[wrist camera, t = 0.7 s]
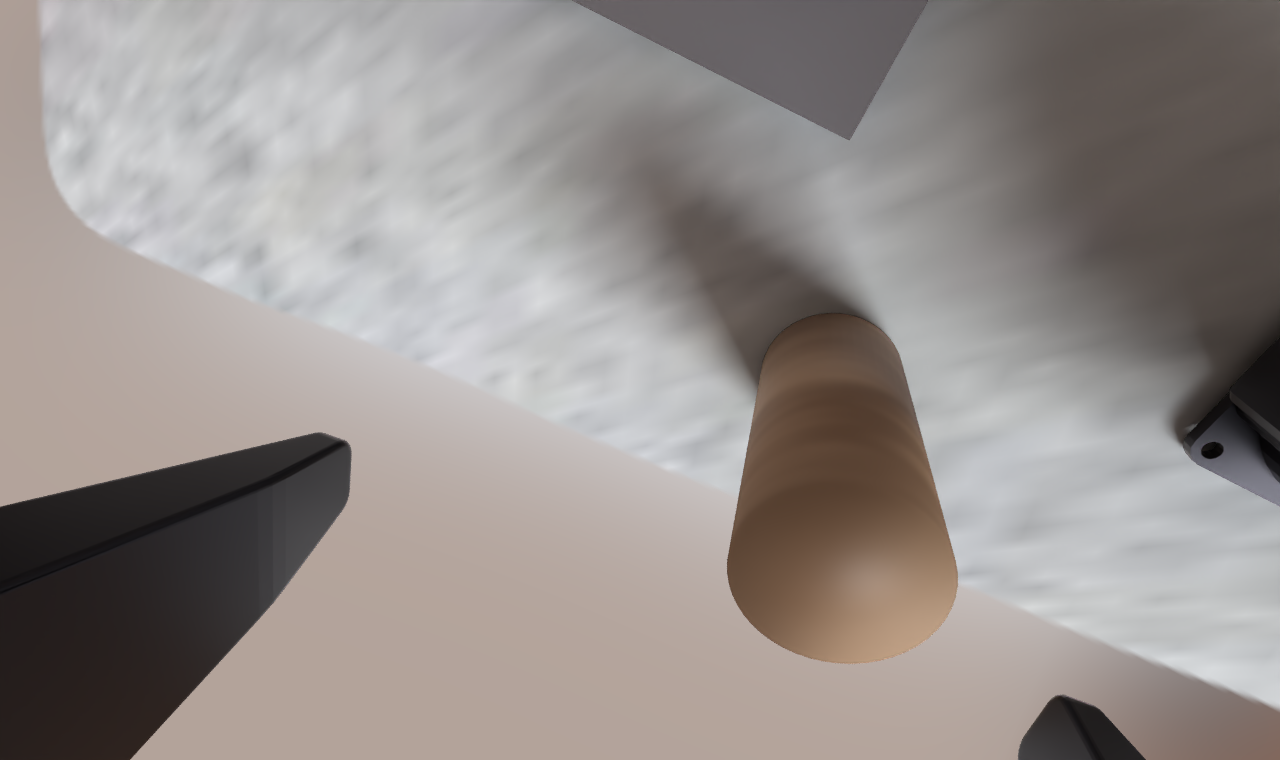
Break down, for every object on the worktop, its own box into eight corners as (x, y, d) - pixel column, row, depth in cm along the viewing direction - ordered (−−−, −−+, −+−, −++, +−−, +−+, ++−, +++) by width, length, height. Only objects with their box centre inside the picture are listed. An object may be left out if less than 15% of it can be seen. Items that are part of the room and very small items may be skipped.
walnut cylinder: (932, 354, 20) (1007, 553, 12) (855, 461, 22) (876, 695, 14) (803, 288, 20) (794, 443, 12) (737, 400, 22) (691, 600, 14)
